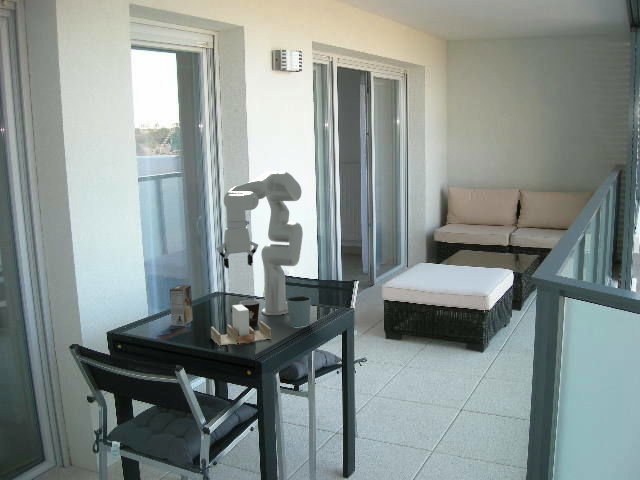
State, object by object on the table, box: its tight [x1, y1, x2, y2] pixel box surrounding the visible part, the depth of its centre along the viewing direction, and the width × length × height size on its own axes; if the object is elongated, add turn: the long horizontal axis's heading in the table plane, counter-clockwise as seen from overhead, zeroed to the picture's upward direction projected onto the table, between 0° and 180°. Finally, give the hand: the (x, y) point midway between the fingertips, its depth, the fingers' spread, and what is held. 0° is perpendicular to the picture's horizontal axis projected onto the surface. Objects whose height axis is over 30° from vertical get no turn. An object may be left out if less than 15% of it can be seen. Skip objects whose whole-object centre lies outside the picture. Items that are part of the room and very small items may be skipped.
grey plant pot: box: [286, 295, 312, 327], centre depth 294 cm, size 10×10×12 cm
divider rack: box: [210, 320, 272, 347], centre depth 277 cm, size 21×14×5 cm, turn 112°
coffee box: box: [169, 284, 193, 327], centre depth 301 cm, size 9×6×16 cm
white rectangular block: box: [231, 304, 249, 336], centre depth 276 cm, size 4×10×12 cm, turn 22°
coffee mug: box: [230, 299, 260, 328], centre depth 297 cm, size 12×9×10 cm
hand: (238, 266), depth 281 cm, fingers open, 9 cm apart
